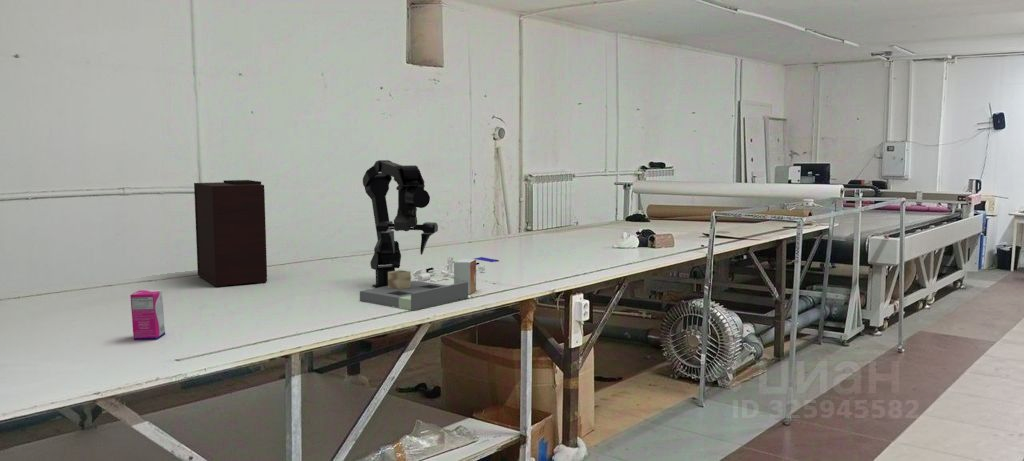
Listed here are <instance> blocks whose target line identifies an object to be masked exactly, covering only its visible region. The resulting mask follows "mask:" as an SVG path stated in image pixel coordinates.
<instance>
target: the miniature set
mask: <svg viewBox="0 0 1024 461" xmlns="http://www.w3.org/2000/svg"><path fill="white" fill-rule="evenodd" d="M453 262H454V257H451V256H448V257H447V262H446V264H443V265H442V269H445V268H446V270H442V269H441V270H440V273H437V274H434V276H438V275H445V276H450V277H453V278H454V273H453V268H454V263H453ZM476 266H478V270H480V271H481V272H483V271H486V265H480V262H476ZM438 270H439V269H438V268H434V267H432V266H431V267H429V268H426V269H425V272H423V273H422V271H423V268H420V269H416V270H414V272H413V273H412V275H411V278H412V276H413V277H414V278H417V281H421V282H426V281H429V282H432V283H437V282H441V281H443V278H439V279H433V278H431V274H432V273H434V272H436V271H438ZM478 270H477V269H476V272H477V271H478ZM452 273H453V274H452ZM436 281H437V282H436Z"/></svg>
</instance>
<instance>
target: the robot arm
mask: <svg viewBox="0 0 1024 461" xmlns="http://www.w3.org/2000/svg"><path fill="white" fill-rule="evenodd" d="M392 180H393V181H394V182H396V184H397V186H396V191H397V197H398V198H397V199H398V201H397V212H396V216H395V218H394V219H393V220H390V216H389V210H388V204H387V203H388V202H387V194H388V192H389V190H390V183H391V182H392ZM362 185H363V187H364V190H365V193H366V194H367V196H368V198H370V200H371V203H372V204H371V205H372V210H373V211H372V212H373V218H374V223H375V231H376V237H377V238H376V239H377V241H376V244H375V245H374V248H373V249H374V251H373V255H372V257H371V260H370V269H371V270H374V271H375V284H372V287H374V288H379V287H384V286H388V272H391V271H396V269H400V266H401V260H402V254H401V251H400V244H399V242H398V240H395V231H396V232H399V231H401V232H402V231H403V232H409V231H422V233H420V235H421V236H420V237H421V242H420V251H419V252H420V255H423V254H424V251H425V248H426V246H427V242H428V240H429V238H430V236H432V235H435V233H437V232H438V231H439V224H438V223H437V222H432V221H431V222H429V221H427V222H425V221H424V222H423V223H422V224H418V218H417V211H418V208H420V209H423V208H426V207H427V206H429V204H430V200H431V196H430V194H429V192H428V191H427V190H425V187H426V186H425V179H424V178H423V176H422V173H421V171H420V169H419V166H418V165H416V164H415V165H402V164H398V163H396V162H393V161H391V160H389V159H386V160H383V159H381V160H380V159H378V160H377V161H375V162H374V164H373V165H372V166H371V167H369V168H368V169H367V170H366V171H365V173H364V175H363V178H362Z"/></svg>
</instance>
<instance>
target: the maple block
mask: <svg viewBox="0 0 1024 461" xmlns="http://www.w3.org/2000/svg"><path fill="white" fill-rule="evenodd" d="M411 273H412V272H411V271H408V270H402V269H398V270H397V269H396V270H395V271H391V272H388V288H393V289H404V288H409V287H411V281H412V277H411V276H412V275H411Z"/></svg>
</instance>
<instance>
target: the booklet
mask: <svg viewBox="0 0 1024 461" xmlns="http://www.w3.org/2000/svg"><path fill="white" fill-rule="evenodd" d="M473 259H476V261H477V260H478V261H484V262H490V263H493V262H494V263H495V262H498V261H500V260H499V259H493V258H489V257H484V256H483V257H482V256H479V257H475V258H473ZM454 262H455V261H453V264H454Z"/></svg>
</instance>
